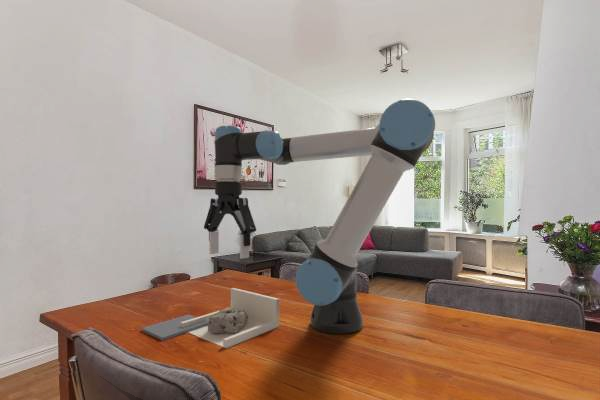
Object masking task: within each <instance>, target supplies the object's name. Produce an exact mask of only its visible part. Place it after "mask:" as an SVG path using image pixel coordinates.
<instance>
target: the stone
mask: <svg viewBox="0 0 600 400" xmlns="http://www.w3.org/2000/svg"><path fill="white" fill-rule="evenodd" d="M226 309H227V308H223V309H220V310H221V311H220V310H218V311H219V312H218V314H217V315H214V316H213V317H210V318H209V321H208V332H213V333H223V334H226V333H237V332H238V331H239V330H240V329H241V328H242V327H243V326H244V324H245V322H246V321H247V319H248V318H249V317H248V316H247V314H246V312H245V310H226Z"/></svg>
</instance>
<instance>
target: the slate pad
mask: <svg viewBox="0 0 600 400" xmlns="http://www.w3.org/2000/svg"><path fill="white" fill-rule="evenodd" d="M197 317H198V316H195V315H191V314H185V315H183V316H182V315H181V316H178V317H175V318H171V319H168V320H165V321H162V322H161V321H160V322H157V323H154V324H151V325H147V326H144V327H141V332H142V333H144V334H145V333H146V335H150V336H152V337H153V338H156V339H158V340H159V341H165V340H170V339H171V338H174V337H178V336H181V335H184V334H186V333H188V332H190V331H193V330H196V329H199V328H202V327H205V326H208V321H206V320H205V321H202V322H199V323H196V324H193V325H189V326H186V327H181V322H183V321H187V320H190V319H193V318H197Z"/></svg>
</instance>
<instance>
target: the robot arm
mask: <svg viewBox="0 0 600 400" xmlns="http://www.w3.org/2000/svg"><path fill="white" fill-rule="evenodd" d="M435 129H436V119H435V115H434V114H433V112H432V111H431V109H430V108H429V106H427V105H426V104H425V103H424V102H422V101H421V100H417V99H414V98H404V99H400V100H399V99H398V100H396V101H395V102H392V103H391V104H390V105H388V107H386V108H385V110H384V111H383V112H382V115H381V117H380V120H379V123H378V124H377V125H376V126H375V127H369V128H361V129H353V130H352V129H351V130H343V131H335V132H328V133H327V132H326V133H319V134H310V135H302V136H294V137H285V138H282V136H281V134H280V133H279V132H278V131H276V130H267V129H266V130H262V131H261V130H260V131H251V132H243V131H242V129H241V127H239V126H236V125H219V126H218V127H216V129H215V131H214V134H215V135H214V136H215V137H214V142H213V143H214V156H215V158H214V159H215V160H214V161H215V162H214V163H215V164H214V180H215V181H216V182H215V183H214V194H215V195H216V196H217V198H215V197H214V198H213V197H211V198H210V203H209V204H210V205H209V208H208V212H207V215H206V219H205V221H204V225H203V229H204V230H207V231H208V242H209V255H215V254H219V250H220V249H219V247H220V245H219V236H220V235H219V227H220V225H221V223H222V221H223V219H224V217H225V215H231V216H232V217H233V219H234V222H235V223H236V224H237V226H238V228H239V230H240V235H239V259H240V260H242V259H248V258H250V246H251V234H252V233H255V232H257V227H256V225H255V221H254V218H253V216H252V213H251V210H250V207H249V200H248V198H247V197H240V196H241V195H242V194H243V188H242V187H243V184H242V182H241V180H242V178H243V177H242V170H243V167H242V163H243V161H247V160H261V161H264V162H269V163H273V164H275V165H278V166H279V165H280V166H285V165H289V164H293V163H297V162H299V163H300V162H310V161H318V160H319V161H321V160H331V159H343V158H354V157H367V156H370V158H369V160H368V162H367V163H366V165H365V168H364V169H363V170H362V173H361V175H360V176H359V178H358V180H357V182H356V183H355V186H354V187H353V190H351V192H350V195H349V196H348V198H347V200H346V201H345V204H344V205H343V207H342V209H341V211H340V213H339V214H338V216H337V218H336V220H335V222H334V223H333V225H332V227H331V229H330V231H329V232H328V234H327V237H326V238H324V239H321V240H318V241H317V242H316V244H315V245H314V247H313V249H312V251H311V253H310V255H309V257H308V258H307V260H304V261H303V262H302V263H301V264H300V266H299V267H298V268H297V271H296V273H295V286H296V288H297V290H298V293H299V295H300V296H301V297H302V298H303V299H304V300H305V301H306V302H308V303H309V304H312V305H313V309H312V311H311V314H310V325H311V327H312V328H313V329H314V330H317V331H319V332H323V333H327V334H336V335H341V334H342V335H343V334H345V335H346V334H352V333H355V332H358V331H360V330H361V329H362V328H363V327H364V326H363V324H364V323H363V316H362V313H361V308H360V306H359V301H358V299H357V297H358V296H357V291H358V290H357V285H358V284H357V267H358V265H359V264H358V254H359V252H360V250H361V247H362V246H363V244H364V242H365V240H366V239H367V237H368V235H369V234H370V232H371V230H372V228H373V227H374V225H375V224H376V221H377V220H378V218H379V217H380V214H381V213H382V212H383V209H384V207H385V206H386V204H387V202H388V201H389V199H390V197H391V196H392V193H393V192H394V191H395V188H396V187H397V185H398V184H399V181H400V179H401V178H402V176H403V175H404V173H405V172H407V171H409V170H412V169H414V168H415V167H416V165H417V163H418V162H419V160H420V158H421V156H422V155H423V153H424V152H426V151H427V150H428V149H429V148H430V146H431V145H432V142H433V140H434V134H435V133H434V132H435Z"/></svg>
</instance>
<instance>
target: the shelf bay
mask: <svg viewBox="0 0 600 400" xmlns="http://www.w3.org/2000/svg"><path fill="white" fill-rule="evenodd" d="M225 309H226V310H245V312H246V314H247V316H248V317H249V318H248V319H247V321H246V322H245V324H244V326H243V327H242V328H241V329H240V330H239V331H238V332H237V333H226V334H223V333H213V332H208V326H205V327H202V328H199V329H196V330H193V331H190V332H187V333H188V334H190V335H193V336H195V337H198V338H200V339H202V340H205V341H207V342H210V343H212V344H213V345H217V346H219V347H222V348H224V349H229V348H231V347H234V346H236V345H238V344H241V343H242V342H245V341H248V340H250V339H252V338H254V337H255V338H256V337H258V336H260V335H262V334H265V333H268V332H269V331H272V330H275V329H277V328H279V327H280V298H277V297H273V296H268V295H264V294H261V293H256V292H252V291H249V290H244V289H239V288H235V287H231V288H230V307H227V308H225ZM221 310H222V309H220V310H217V311H213V312H210V313H206V314H204V315H201V316H196V317H197V318H193V319H190V320H187V321H183V322H181V327H186V326H189V325H193V324H196V323H199V322H202V321H205V320H206V321H209V318H210V317H213V316H214V315H217V314H218V312H219V311H221Z"/></svg>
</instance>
